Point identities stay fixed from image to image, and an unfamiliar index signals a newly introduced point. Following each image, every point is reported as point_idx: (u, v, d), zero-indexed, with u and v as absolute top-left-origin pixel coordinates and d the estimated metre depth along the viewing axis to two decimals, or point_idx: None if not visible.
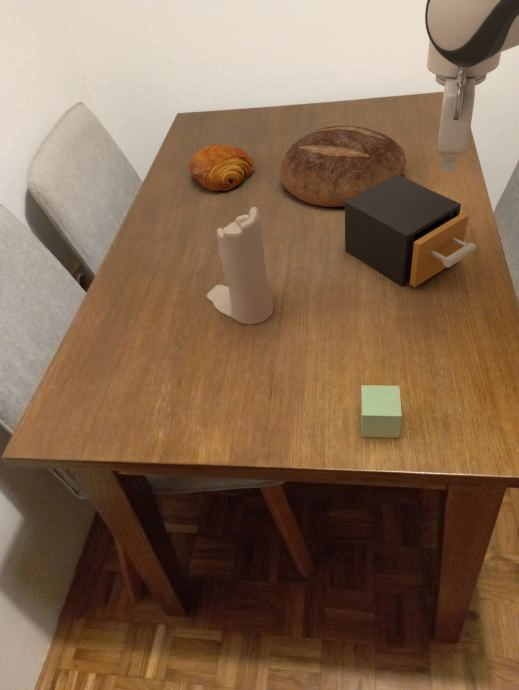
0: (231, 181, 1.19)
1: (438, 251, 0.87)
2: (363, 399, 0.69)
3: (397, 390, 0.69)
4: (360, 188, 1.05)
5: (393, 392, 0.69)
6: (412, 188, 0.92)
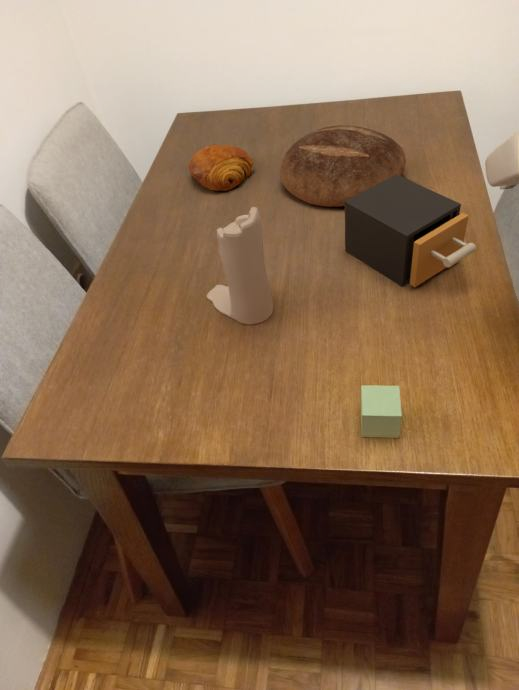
0: (231, 181, 1.19)
1: (438, 251, 0.87)
2: (363, 399, 0.69)
3: (397, 390, 0.69)
4: (360, 188, 1.05)
5: (393, 392, 0.69)
6: (412, 188, 0.92)
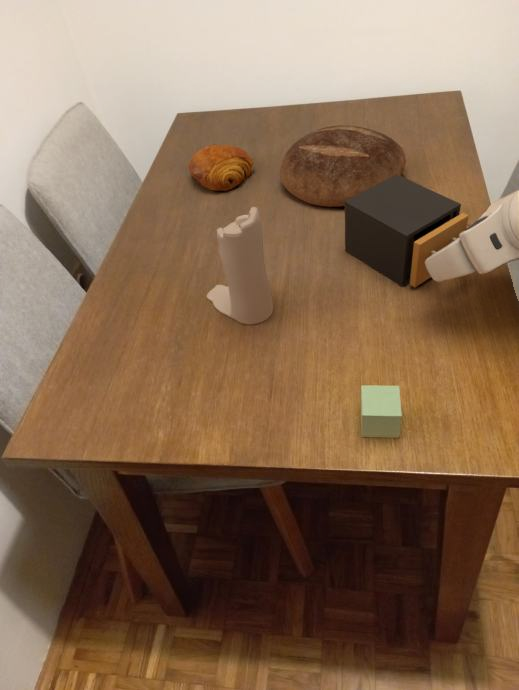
0: (231, 181, 1.19)
1: None
2: (363, 399, 0.69)
3: (397, 390, 0.69)
4: (360, 188, 1.05)
5: (393, 392, 0.69)
6: (412, 188, 0.92)
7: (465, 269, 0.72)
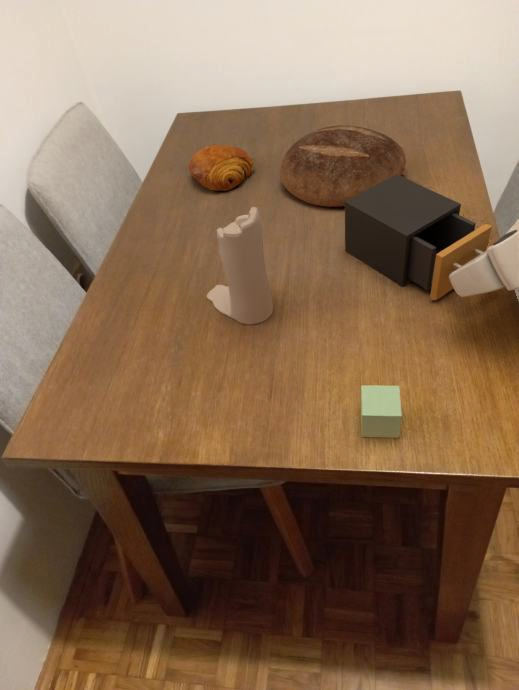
0: (231, 181, 1.19)
1: (460, 264, 0.84)
2: (363, 399, 0.69)
3: (397, 390, 0.69)
4: (360, 188, 1.05)
5: (393, 392, 0.69)
6: (412, 188, 0.92)
7: (493, 285, 0.69)
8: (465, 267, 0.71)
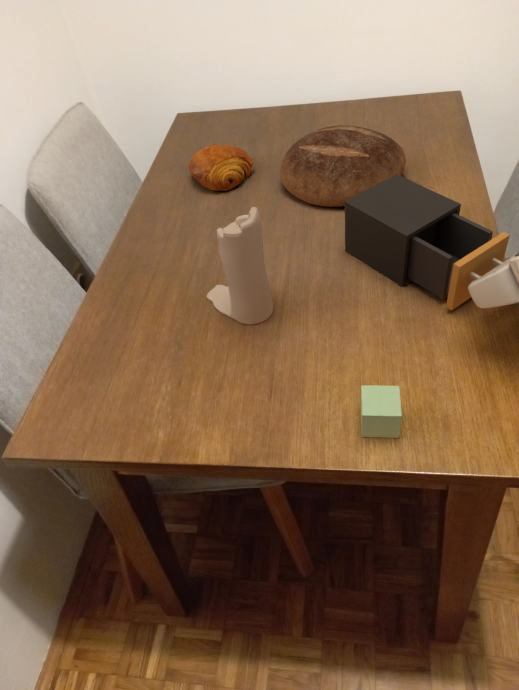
0: (231, 181, 1.19)
1: (477, 273, 0.82)
2: (363, 399, 0.69)
3: (397, 390, 0.69)
4: (360, 188, 1.05)
5: (393, 392, 0.69)
6: (412, 188, 0.92)
7: (515, 297, 0.67)
8: (486, 278, 0.69)
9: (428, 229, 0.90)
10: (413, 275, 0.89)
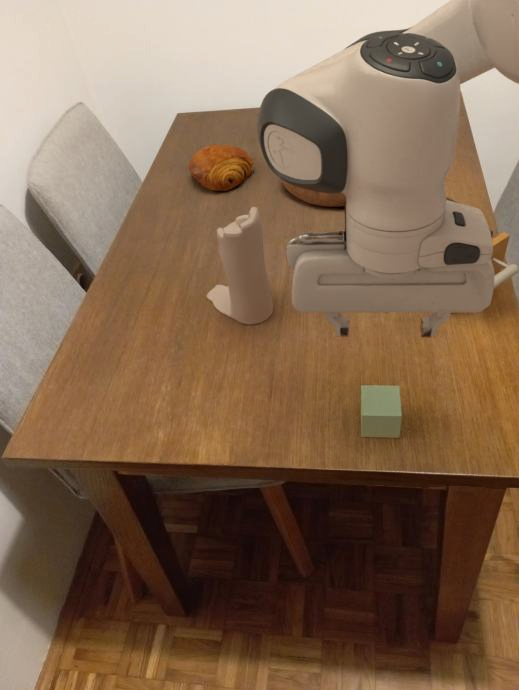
0: (231, 181, 1.19)
1: None
2: (363, 399, 0.69)
3: (397, 390, 0.69)
4: None
5: (393, 392, 0.69)
6: None
7: None
8: (493, 283, 0.50)
9: None
10: None
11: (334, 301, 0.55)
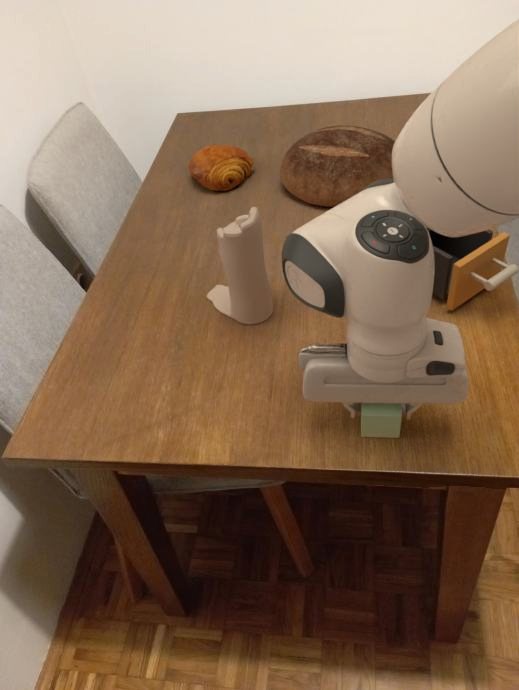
0: (231, 181, 1.19)
1: (477, 273, 0.82)
2: None
3: None
4: (360, 188, 1.05)
5: None
6: None
7: None
8: (468, 385, 0.62)
9: None
10: None
11: (338, 395, 0.66)
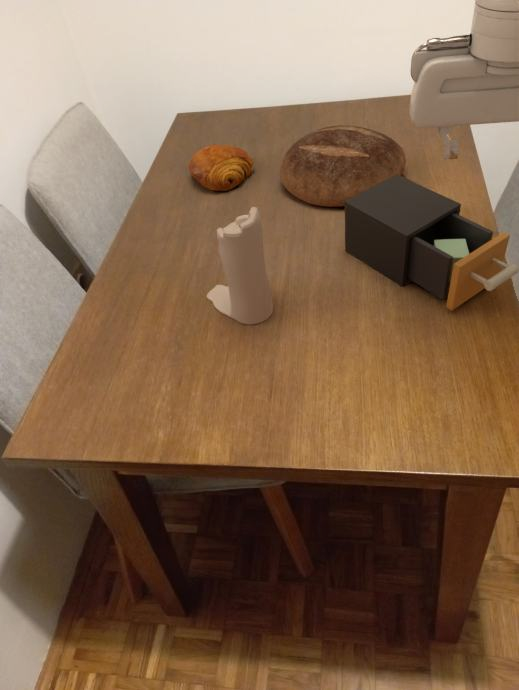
0: (231, 181, 1.19)
1: (477, 273, 0.82)
2: None
3: (464, 241, 0.86)
4: (360, 188, 1.05)
5: (461, 243, 0.86)
6: (412, 188, 0.92)
7: None
8: None
9: (428, 229, 0.90)
10: (413, 275, 0.89)
11: (452, 111, 0.60)
